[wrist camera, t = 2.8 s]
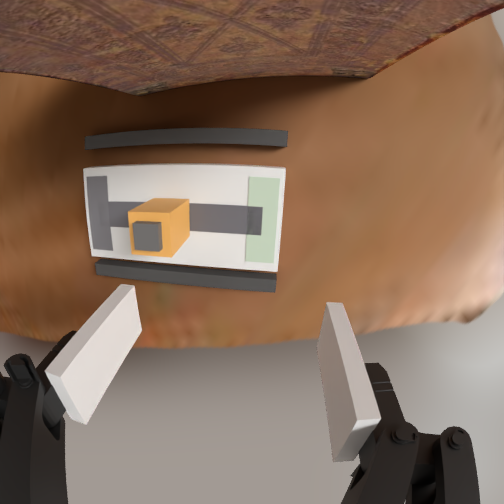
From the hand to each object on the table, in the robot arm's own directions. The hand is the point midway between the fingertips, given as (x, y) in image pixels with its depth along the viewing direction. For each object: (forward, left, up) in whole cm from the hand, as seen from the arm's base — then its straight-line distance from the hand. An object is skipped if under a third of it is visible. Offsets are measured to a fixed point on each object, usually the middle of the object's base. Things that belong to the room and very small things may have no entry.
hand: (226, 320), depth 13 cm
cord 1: (-9, -9, -19) cm, 23 cm away
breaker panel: (0, -9, -19) cm, 21 cm away
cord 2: (+7, -9, -19) cm, 23 cm away
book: (-20, -2, -20) cm, 28 cm away
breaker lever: (0, -8, -17) cm, 19 cm away
